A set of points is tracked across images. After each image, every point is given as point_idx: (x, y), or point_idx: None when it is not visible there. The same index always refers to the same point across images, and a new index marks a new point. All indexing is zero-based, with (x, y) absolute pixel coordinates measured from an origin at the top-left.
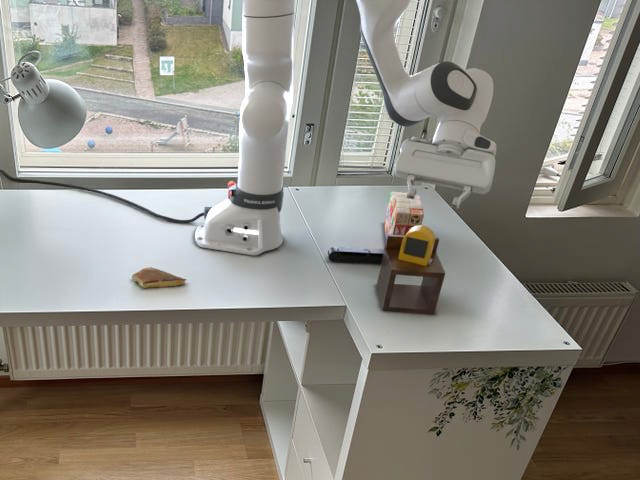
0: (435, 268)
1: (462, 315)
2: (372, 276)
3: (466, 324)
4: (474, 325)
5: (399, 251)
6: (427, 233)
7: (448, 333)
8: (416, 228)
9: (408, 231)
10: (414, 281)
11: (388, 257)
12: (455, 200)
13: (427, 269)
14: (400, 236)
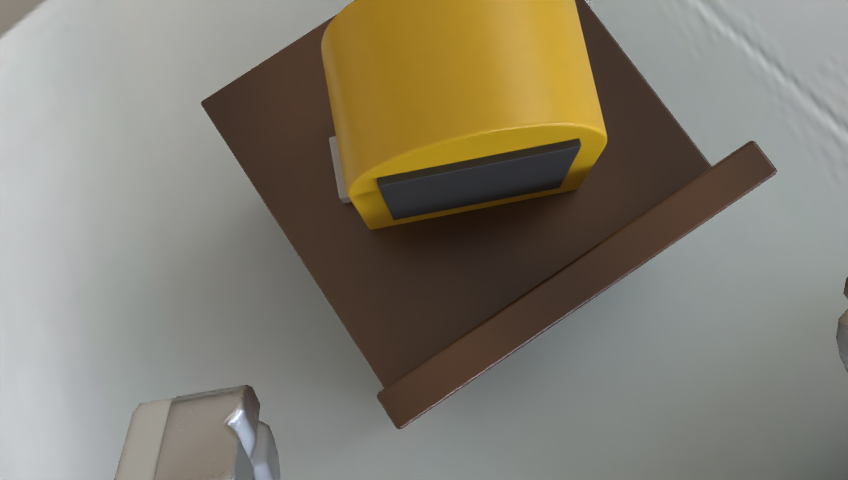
0: (281, 120)
1: (159, 275)
2: (732, 349)
3: (115, 203)
4: (80, 221)
5: (609, 199)
6: (380, 30)
7: (157, 64)
8: (508, 30)
9: (579, 59)
10: (516, 466)
11: (618, 48)
12: (203, 433)
13: (319, 69)
14: (669, 209)
